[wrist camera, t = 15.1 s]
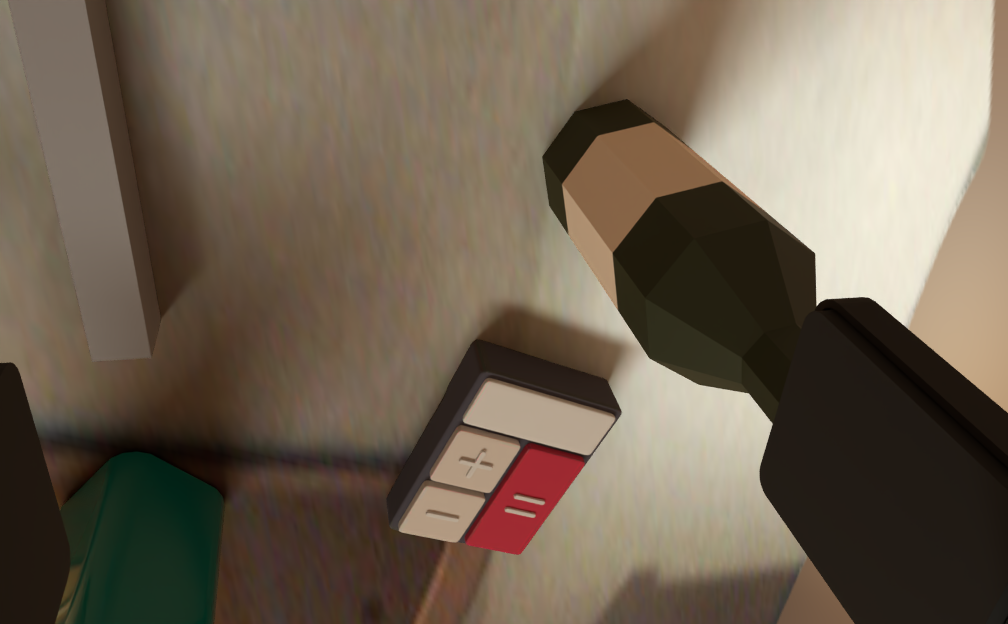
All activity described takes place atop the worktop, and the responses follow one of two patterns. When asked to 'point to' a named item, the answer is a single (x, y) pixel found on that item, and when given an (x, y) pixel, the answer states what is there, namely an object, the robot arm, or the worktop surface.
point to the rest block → (90, 170)
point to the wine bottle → (681, 251)
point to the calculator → (501, 449)
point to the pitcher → (142, 545)
